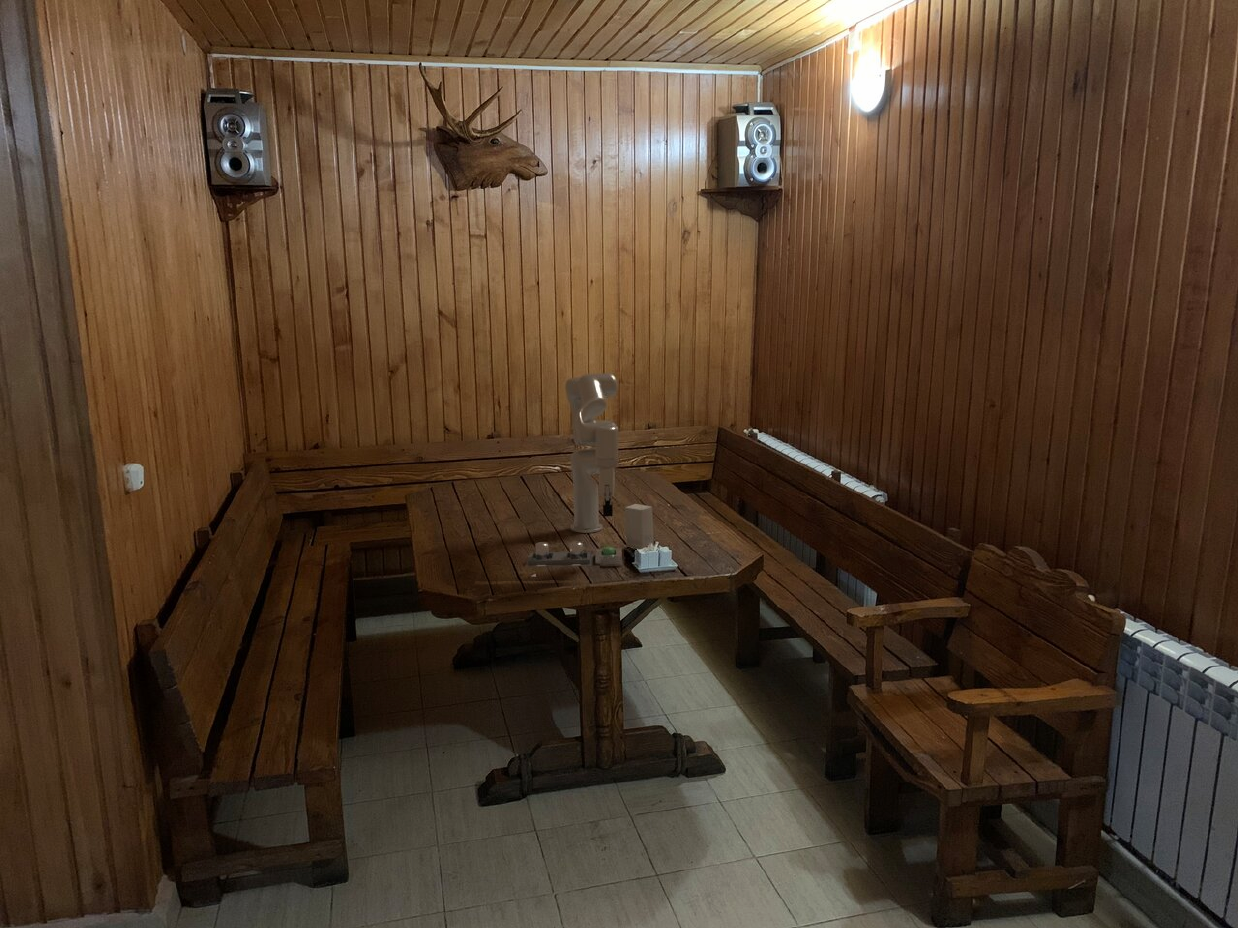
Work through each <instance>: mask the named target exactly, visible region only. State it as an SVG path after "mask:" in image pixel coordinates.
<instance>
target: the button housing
mask: <svg viewBox="0 0 1238 928" xmlns="http://www.w3.org/2000/svg"><path fill="white" fill-rule="evenodd" d="M622 549H623V548H621V547H619V548H618V547H617V548H616V547H614V551H615V555H603V548H595V564H596V565H599V567H622V566H623V552H622Z"/></svg>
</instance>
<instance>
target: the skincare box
mask: <svg viewBox="0 0 1238 928" xmlns="http://www.w3.org/2000/svg"><path fill="white" fill-rule="evenodd" d="M624 520H625V523H624V524H625V540H626V541H625V543H626V548H627V547H633V548H642V547H646V546H648V545H649V543H654V523H653V521H654V520H653V506H650V505H645V504H644V505H643V504H638V503H634V504H631V505H628V506H625V507H624Z"/></svg>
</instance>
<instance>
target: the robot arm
mask: <svg viewBox="0 0 1238 928" xmlns="http://www.w3.org/2000/svg"><path fill="white" fill-rule="evenodd" d="M564 388H565V389H564V390H565V395H566V399H567V401H568V404H569V405H570V410H571V420H572V436H573V441H574V444H576V445H577V446H581V447H588V446H590V447H591V446H595V448H589V449H588V448H586V449H577V450H576V451H575V450H574V451H573V452H572V453H571V454H570V455H571V456H570V458H569V459H570V460H569V461H570V467H571V473H572V474H571V475H572V484H573V485H572V486H573V487H572V488H573V513H574V514H573V516H574V518H573V519H574V520H573V521H574V522H573V524H571V525H570V530H571V531H572V532H574V533H580V534H581V533H583V534H589V533H591V534H592V533H596V532H600V531H602V530H603V529H604V528H603V524H602V523H600V522H599V521H600V519H599V518H600V517H599V516H600V515H599V513H600V512H599V497H600V498H601V497H603V502H602V503H603V504H602V513H603V515H602V516H603V517H613V516H614V515H613V513H614V509H613V506H614V505H613V497H614V495H615V494H614V493H615V481H616V480H615V477H616V476H615V475H616V474H615V473H616V472H615V471H616V468H618V467H619V446H618V445H619V441H618V438H619V427H618V426H617V424H616V423H615V422H614V421H613V422H612V421H609V420H606V419H605V420H602V419H601V420H595V417H598V416H601V414H603V413H604V412H605V411H606V409H607V400H606V399H610V398H613V397H615V396H617V393H618V390H619V383H618V380H617V377H616V376H615V375H614V374H612V373H611V372H610V373H587V374H585V375H582V376H577V377H575V376H574V377H572V378H571V377H570V378H569V379H567V380H566V382H565V385H564ZM594 474H598V482H597V480H596V479H595V478H593V477H592V475H594Z"/></svg>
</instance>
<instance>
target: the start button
mask: <svg viewBox="0 0 1238 928" xmlns="http://www.w3.org/2000/svg"><path fill="white" fill-rule="evenodd" d="M602 549H603V555H615V551H614V549H615V547H614V546H604V547H602Z"/></svg>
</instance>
